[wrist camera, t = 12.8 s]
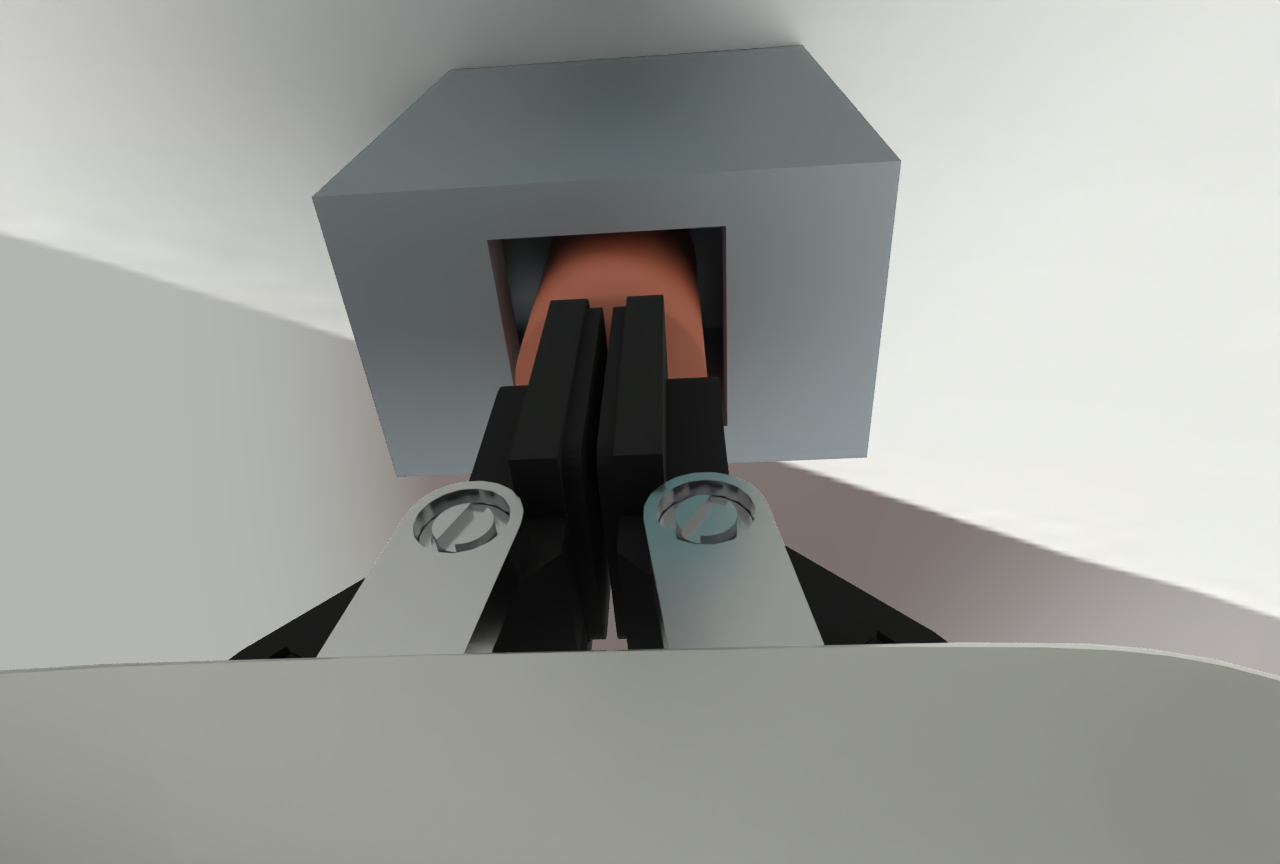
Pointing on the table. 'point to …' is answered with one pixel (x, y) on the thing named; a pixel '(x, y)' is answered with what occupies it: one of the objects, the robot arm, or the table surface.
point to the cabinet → (621, 202)
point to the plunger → (624, 289)
